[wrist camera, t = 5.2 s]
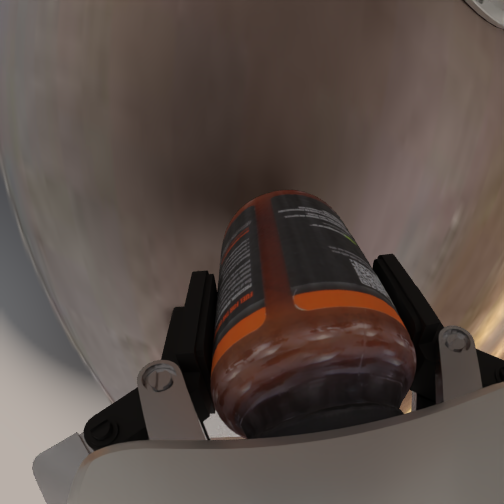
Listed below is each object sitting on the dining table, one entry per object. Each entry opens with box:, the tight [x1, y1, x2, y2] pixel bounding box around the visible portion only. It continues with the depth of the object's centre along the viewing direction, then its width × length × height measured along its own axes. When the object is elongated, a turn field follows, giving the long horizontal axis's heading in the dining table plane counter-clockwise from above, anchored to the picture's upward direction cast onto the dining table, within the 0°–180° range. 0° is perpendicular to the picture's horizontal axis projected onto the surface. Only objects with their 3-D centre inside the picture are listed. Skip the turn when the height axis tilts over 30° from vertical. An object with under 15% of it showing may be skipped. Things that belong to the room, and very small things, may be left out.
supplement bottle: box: [210, 190, 416, 439], centre depth 10 cm, size 6×6×11 cm
